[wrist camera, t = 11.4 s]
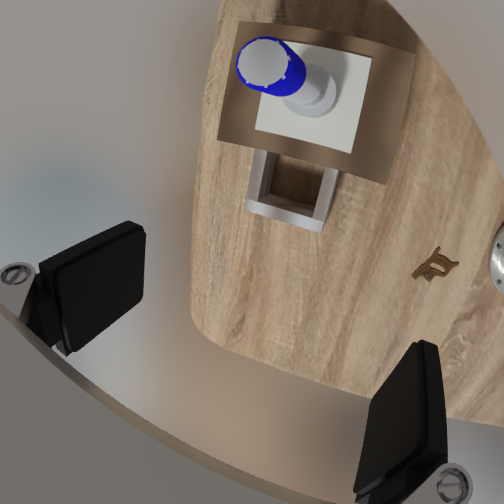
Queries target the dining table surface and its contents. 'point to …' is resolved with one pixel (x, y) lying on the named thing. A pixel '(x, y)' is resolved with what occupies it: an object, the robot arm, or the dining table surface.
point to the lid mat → (334, 123)
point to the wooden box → (269, 144)
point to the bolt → (287, 77)
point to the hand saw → (430, 272)
